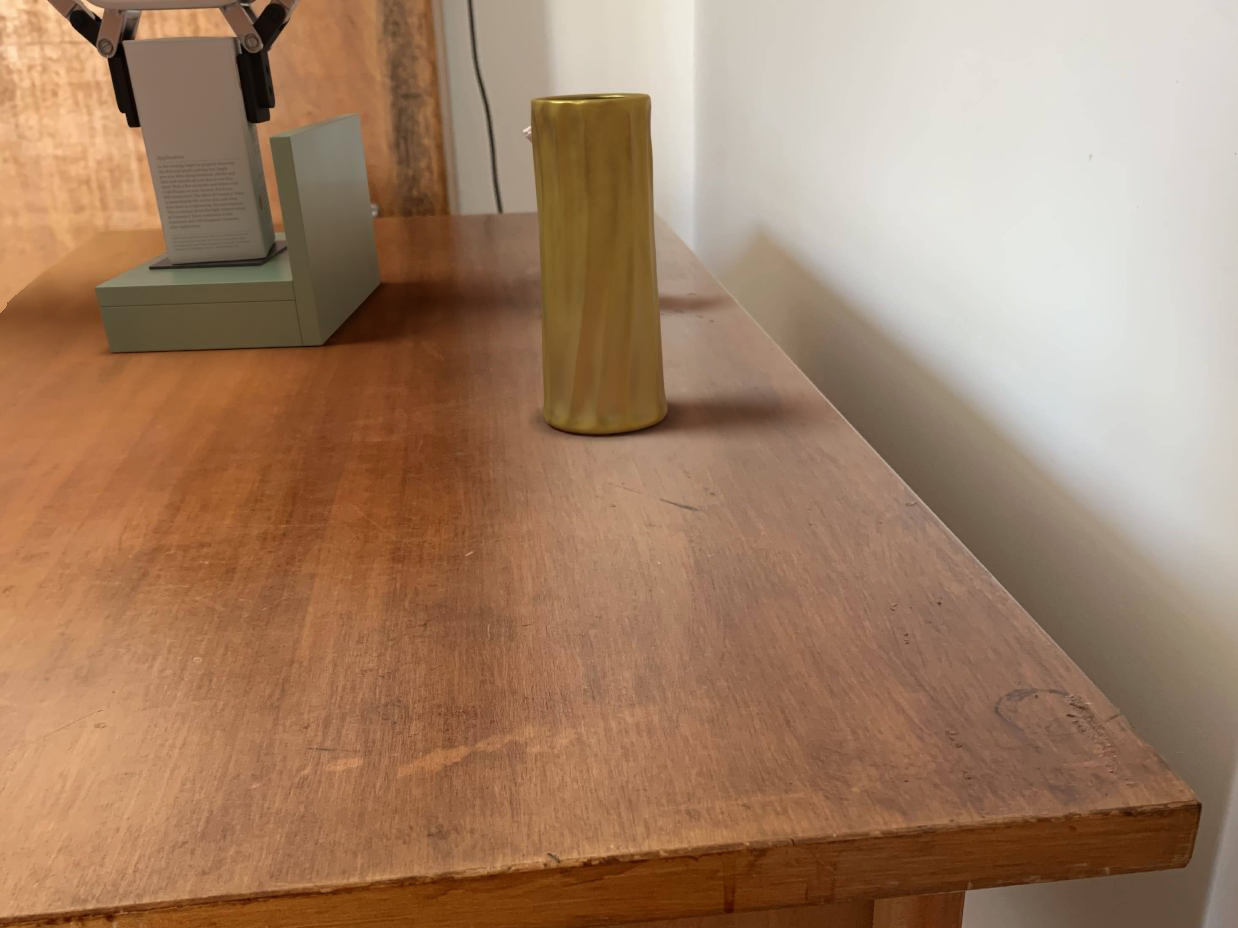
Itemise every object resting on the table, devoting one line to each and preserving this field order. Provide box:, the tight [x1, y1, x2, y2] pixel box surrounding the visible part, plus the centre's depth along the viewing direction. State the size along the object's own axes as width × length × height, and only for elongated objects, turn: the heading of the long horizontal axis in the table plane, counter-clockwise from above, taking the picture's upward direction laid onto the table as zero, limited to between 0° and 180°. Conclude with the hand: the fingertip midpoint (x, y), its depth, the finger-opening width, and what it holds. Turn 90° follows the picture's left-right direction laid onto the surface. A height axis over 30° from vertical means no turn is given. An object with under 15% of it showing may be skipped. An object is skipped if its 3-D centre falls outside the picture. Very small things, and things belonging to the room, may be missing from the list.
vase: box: [530, 92, 669, 435], centre depth 54 cm, size 6×6×14 cm
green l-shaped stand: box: [94, 113, 381, 354], centre depth 78 cm, size 13×20×12 cm, turn 1°
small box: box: [122, 36, 276, 264], centre depth 76 cm, size 8×6×13 cm
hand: (200, 121), depth 76 cm, fingers closed on small box, 7 cm apart
